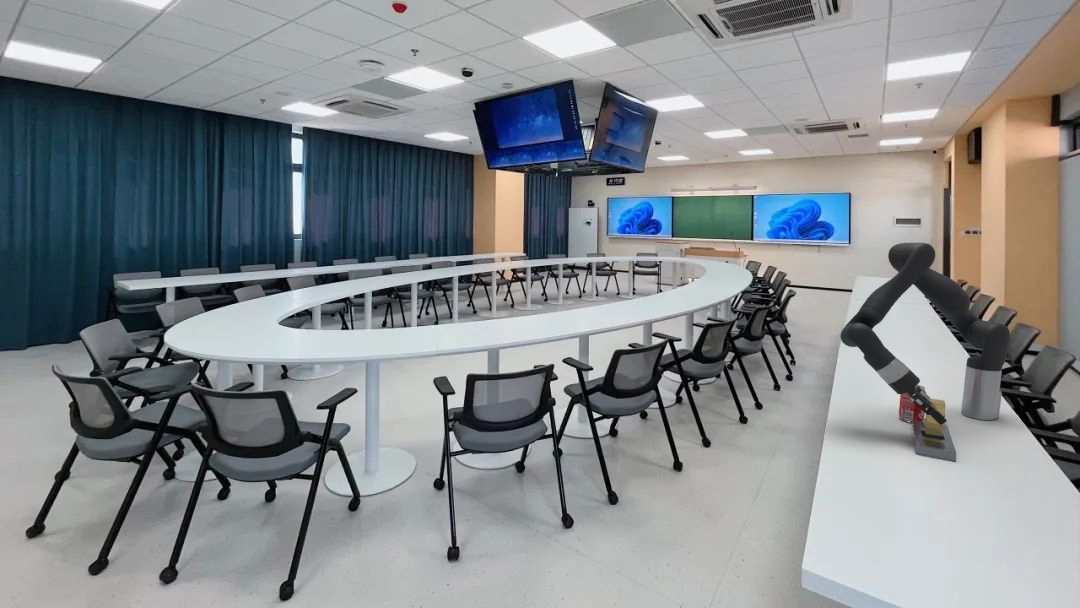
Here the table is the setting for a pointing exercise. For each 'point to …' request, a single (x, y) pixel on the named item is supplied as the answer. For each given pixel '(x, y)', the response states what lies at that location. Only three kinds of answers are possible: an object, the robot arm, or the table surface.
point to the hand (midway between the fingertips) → (942, 420)
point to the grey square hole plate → (933, 442)
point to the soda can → (910, 408)
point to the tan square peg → (930, 422)
